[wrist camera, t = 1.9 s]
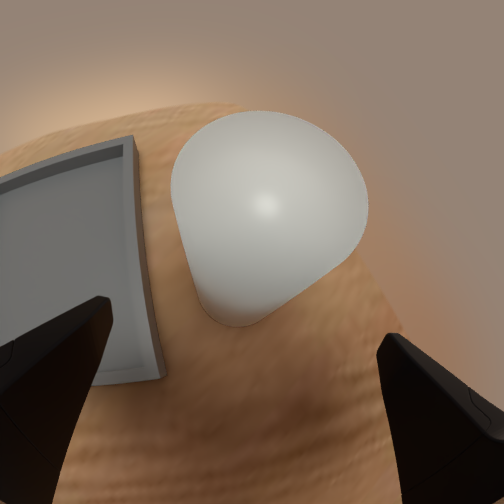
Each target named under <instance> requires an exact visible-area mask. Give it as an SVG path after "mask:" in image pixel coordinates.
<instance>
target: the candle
mask: <svg viewBox="0 0 504 504" xmlns="http://www.w3.org/2000/svg"><path fill="white" fill-rule="evenodd" d="M171 198H172V203H173V207H174V211H175V215H176V219H177V223H178V227H179V231H180V235H181V239H182V242H183V246H184V250H185V253H186V257H187V260H188V264H189V268H190V271H191V274H192V278H193V281H194V285H195V288H196V291H197V295H198V298H199V301H200V303H201V305H202V307H203V309H204V310H205V311H206V313H207V314H208V315H209V316H210V317H211V318H213V319H214V320H215V321H217V322H219V323H221V324H224V325H227V326H231V327H245V326H249V325H252V324H255V323H257V322H258V321H260V320H262V319H263V318H265V317H266V316H268V315H269V314H271V313H272V312H273V311H275V310H276V309H278V308H279V307H281V306H282V305H284V304H285V303H286V302H288V301H289V300H291V299H292V298H294V297H295V296H296V295H298V294H299V293H301V292H302V291H303V290H305V289H306V288H308V287H309V286H310V285H312V284H313V283H315V282H316V281H317V280H319V279H320V278H321V277H323V276H324V275H326V274H327V273H328V272H330V271H331V270H332V269H334V268H335V267H336V266H338V265H339V264H340V263H342V262H343V261H344V260H345V259H346V258H347V257H348V256H349V255H350V254H351V253H352V252H353V250H354V249H355V248H356V246H357V245H358V243H359V241H360V239H361V237H362V235H363V233H364V229H365V227H366V223H367V217H368V196H367V190H366V186H365V183H364V180H363V178H362V175H361V173H360V171H359V169H358V167H357V165H356V163H355V162H354V160H353V159H352V158H351V156H350V155H349V153H348V152H347V151H346V150H345V149H344V148H343V146H342V145H341V144H340V143H339V142H337V141H336V140H335V139H334V138H333V137H331V136H330V135H329V134H328V133H326V132H325V131H324V130H322V129H320V128H318V127H317V126H315V125H313V124H311V123H309V122H307V121H305V120H303V119H300V118H297V117H295V116H291V115H287V114H283V113H278V112H271V111H247V112H240V113H235V114H231V115H227V116H225V117H222V118H219V119H217V120H215V121H213V122H211V123H209V124H207V125H206V126H204V127H203V128H201V129H200V130H199V131H198V132H196V133H195V134H194V135H193V136H192V137H191V138H190V139H189V140H188V141H187V142H186V144H185V145H184V147H183V148H182V150H181V151H180V153H179V155H178V157H177V159H176V161H175V164H174V167H173V171H172V177H171Z"/></svg>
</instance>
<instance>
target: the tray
mask: <svg viewBox="0 0 504 504" xmlns="http://www.w3.org/2000/svg"><path fill="white" fill-rule="evenodd" d="M98 295H100V296H105V297H109V298H110V300H111V304H112V312H113V326H112V329H111V332H110V335H109V338H108V341H107V344H106V347H105V351H104V354H103V357H102V360H101V363H100V366H99V368H98V371H97V373H96V375H95V378H94V380H93V383H92V385H91V386H99V385H110V384H120V383H129V382H138V381H146V380H153V379H160V378H162V377H164V376H166V375H167V372H166V368H165V364H164V359H163V355H162V350H161V345H160V340H159V335H158V330H157V325H156V320H155V314H154V308H153V302H152V296H151V290H150V283H149V276H148V269H147V261H146V253H145V244H144V234H143V224H142V212H141V198H140V180H139V153H138V150H137V147H136V144H135V140H134V137H133V135H130V136H126V137H121V138H117V139H113V140H109V141H105V142H101V143H98V144H94V145H90V146H87V147H83V148H80V149H77V150H73V151H70V152H67V153H64V154H61V155H58V156H55V157H52V158H49V159H46V160H43V161H40V162H38V163H35V164H32V165H30V166H27V167H24V168H22V169H19V170H17V171H14V172H12V173H10V174H7V175H5V176H3V177H0V346H2V345H4V344H6V343H8V342H10V341H11V340H15V338H17V337H19V336H21V335H23V334H24V333H26V332H28V331H30V330H32V329H34V328H36V327H37V326H39V325H41V324H43V323H45V322H47V321H49V320H51V319H53V318H55V317H56V316H58V315H60V314H62V313H64V312H66V311H68V310H70V309H72V308H74V307H76V306H78V305H80V304H82V303H84V302H86V301H87V300H89V299H91V298H93V297H95V296H98Z"/></svg>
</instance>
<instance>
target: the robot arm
mask: <svg viewBox="0 0 504 504" xmlns="http://www.w3.org/2000/svg"><path fill="white" fill-rule="evenodd" d="M112 326H113V312H112V304H111V300H110V298H109V297H105V296H100V295H98V296H95V297H93V298H91V299H89V300H87V301H86V302H84V303H82V304H80V305H78V306H76V307H74V308H72V309H70V310H68V311H66V312H64V313H62V314H60V315H58V316H56V317H55V318H53V319H51V320H49V321H47V322H45V323H43V324H41V325H39V326H37V327H36V328H34V329H32V330H30V331H28V332H26V333H24V334H23V335H21V336H19V337H17V338H15V340H11V341H10V342H8V343H6V344H4V345H2V346H0V504H52V502H53V498H54V494H55V490H56V486H57V483H58V479H59V476H60V471H61V468H62V465H63V462H64V459H65V455H66V452H67V449H68V446H69V443H70V440H71V437H72V435H73V432H74V429H75V426H76V423H77V421H78V418H79V415H80V413H81V410H82V407H83V405H84V402H85V400H86V397H87V395H88V392H89V390H90V387H91V385H92V383H93V380H94V378H95V375H96V373H97V371H98V368H99V366H100V363H101V360H102V357H103V354H104V351H105V347H106V344H107V341H108V338H109V335H110V332H111V329H112ZM376 357H377V363H378V370H379V376H380V383H381V390H382V395H383V400H384V404H385V408H386V413H387V417H388V422H389V426H390V431H391V436H392V441H393V446H394V451H395V457H396V463H397V468H398V475H399V481H400V488H401V494H402V495H401V496H402V504H504V412H503V411H502V410H500V409H499V408H497V407H496V406H494V405H493V404H492V403H490V402H489V401H487V400H486V399H484V398H483V397H481V396H480V395H479V394H478V393H476V392H475V391H474V390H472V389H471V388H470V387H468V386H467V385H466V384H465V383H463V382H462V381H461V380H459V379H458V378H457V377H455V376H454V375H453V374H452V373H450V372H449V371H448V370H446V369H445V368H444V367H443V366H441V365H440V364H439V363H437V362H436V361H435V360H433V359H432V358H431V357H429V356H428V355H427V354H425V353H424V352H423V351H421V350H420V349H419V348H417V347H416V346H415V345H413V344H412V343H411V342H409V341H408V340H407V339H405V338H404V337H403V336H401V335H400V334H399V333H388V334H386V335H385V337H384V339H383V341H382V343H381V345H380V346H379V348H378V350H377V354H376Z"/></svg>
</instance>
